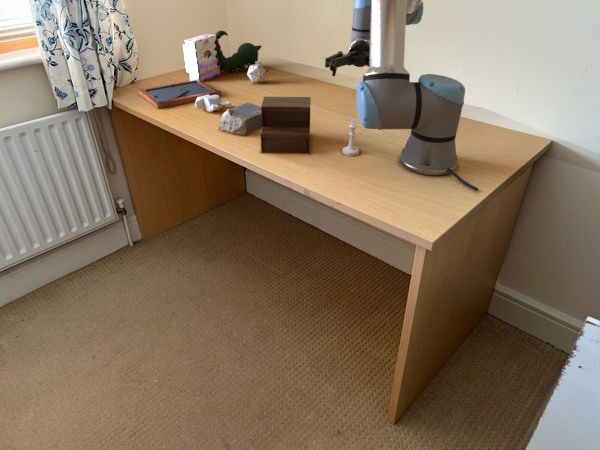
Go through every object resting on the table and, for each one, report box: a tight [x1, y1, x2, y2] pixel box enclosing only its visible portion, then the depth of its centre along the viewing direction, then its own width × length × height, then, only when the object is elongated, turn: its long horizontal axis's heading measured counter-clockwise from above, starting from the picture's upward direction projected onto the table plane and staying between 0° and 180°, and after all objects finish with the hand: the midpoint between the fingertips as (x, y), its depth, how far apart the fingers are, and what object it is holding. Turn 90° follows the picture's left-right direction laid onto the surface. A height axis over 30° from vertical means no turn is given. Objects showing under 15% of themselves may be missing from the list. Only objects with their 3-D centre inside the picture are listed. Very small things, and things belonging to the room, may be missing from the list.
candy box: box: [183, 33, 222, 82], centre depth 183 cm, size 14×6×16 cm, turn 149°
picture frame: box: [138, 79, 221, 109], centre depth 168 cm, size 20×2×25 cm
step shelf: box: [259, 96, 311, 155], centre depth 128 cm, size 14×14×12 cm
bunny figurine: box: [194, 95, 232, 113], centre depth 153 cm, size 10×5×15 cm
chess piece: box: [341, 118, 360, 156], centre depth 124 cm, size 5×5×10 cm
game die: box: [244, 61, 269, 85], centre depth 180 cm, size 9×8×10 cm
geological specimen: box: [218, 102, 262, 136], centre depth 141 cm, size 11×6×15 cm
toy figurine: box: [214, 30, 262, 74], centre depth 192 cm, size 9×19×25 cm
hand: (357, 72), depth 122 cm, fingers open, 13 cm apart
